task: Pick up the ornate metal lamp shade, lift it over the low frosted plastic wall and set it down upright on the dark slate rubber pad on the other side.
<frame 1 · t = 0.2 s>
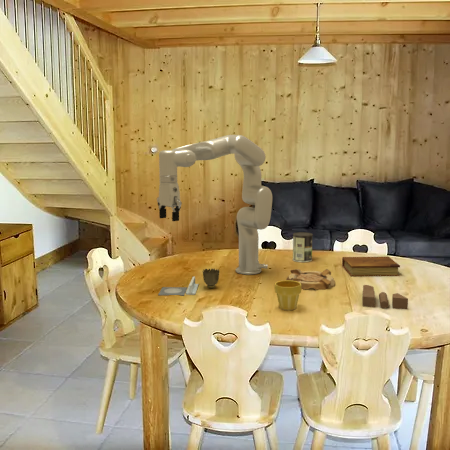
hand: (169, 219, 237), 31 cm above the table, tool pointing down, fingers open, 9 cm apart
diary: (369, 272, 269), on the table
rest pad: (173, 291, 238), on the table
wooden block set: (383, 303, 223), on the table
ornate metal lamp shade: (211, 288, 243), on the table
coffee can: (302, 260, 291), on the table
low wall: (192, 289, 240), on the table
ashtray: (309, 283, 250), on the table
plant pot: (287, 308, 216), on the table
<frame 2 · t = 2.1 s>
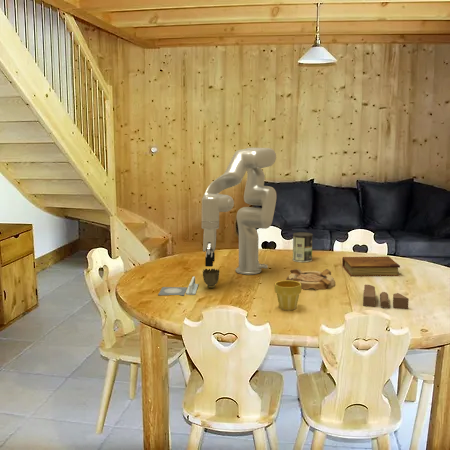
hand: (210, 263, 240), 11 cm above the table, tool pointing down, fingers open, 9 cm apart
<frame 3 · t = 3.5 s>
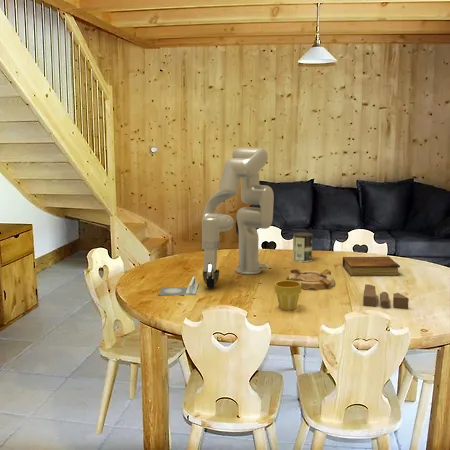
hand: (211, 284, 242), 2 cm above the table, tool pointing down, fingers closed on ornate metal lamp shade, 6 cm apart
ornate metal lamp shade: (211, 288, 243), on the table, touching gripper
everything else where it was.
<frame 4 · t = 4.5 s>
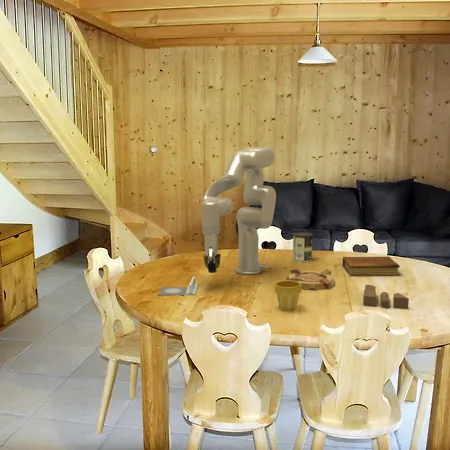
hand: (212, 268, 242), 8 cm above the table, tool pointing down, fingers closed on ornate metal lamp shade, 6 cm apart
ornate metal lamp shade: (212, 272, 243), point 7 cm above the table, touching gripper
everything else where it was.
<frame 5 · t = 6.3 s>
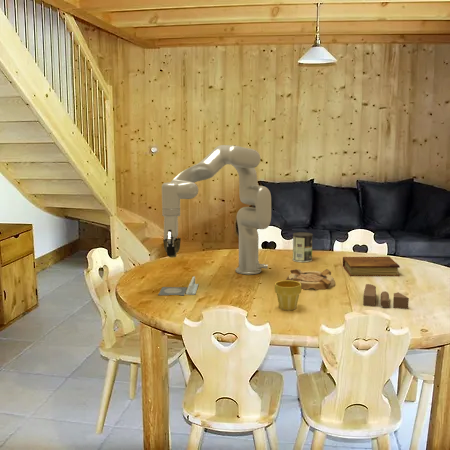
hand: (172, 253, 235), 17 cm above the table, tool pointing down, fingers closed on ornate metal lamp shade, 6 cm apart
ornate metal lamp shade: (172, 257, 235), point 15 cm above the table, touching gripper
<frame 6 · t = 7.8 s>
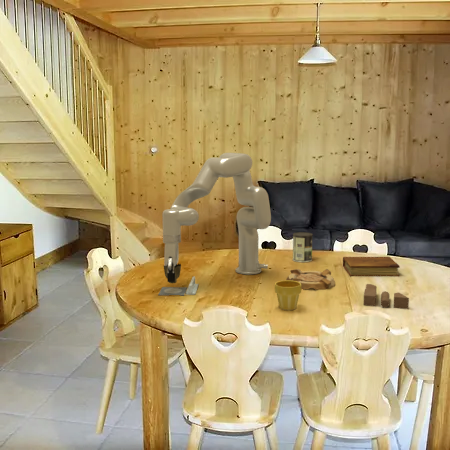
hand: (172, 279, 237), 6 cm above the table, tool pointing down, fingers closed on ornate metal lamp shade, 6 cm apart
ornate metal lamp shade: (172, 283, 237), point 4 cm above the table, touching gripper
when the fingers open (3 cm above the table, at t = 9.2 s): ornate metal lamp shade drops 1 cm, resting on rest pad.
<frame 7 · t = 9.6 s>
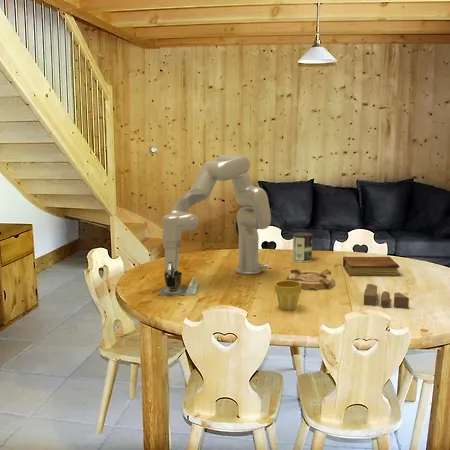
hand: (172, 283, 237), 4 cm above the table, tool pointing down, fingers open, 9 cm apart
ornate metal lamp shade: (173, 291, 238), resting on rest pad
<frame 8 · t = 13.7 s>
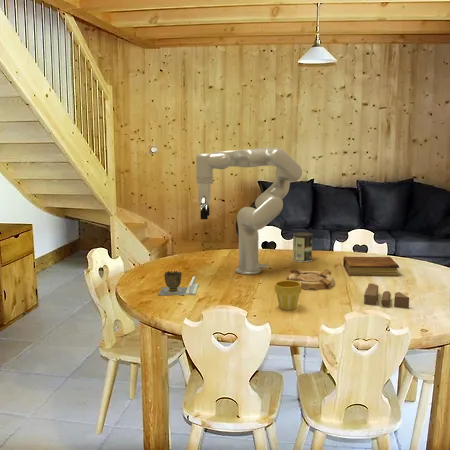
hand: (205, 217, 255), 28 cm above the table, tool pointing down, fingers open, 9 cm apart
at the end: ornate metal lamp shade inside the target area on the rest pad (0.1 cm from its centre), point 0.2 cm above the rest pad's base; ornate metal lamp shade tilted 0°; the gripper is holding nothing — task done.
